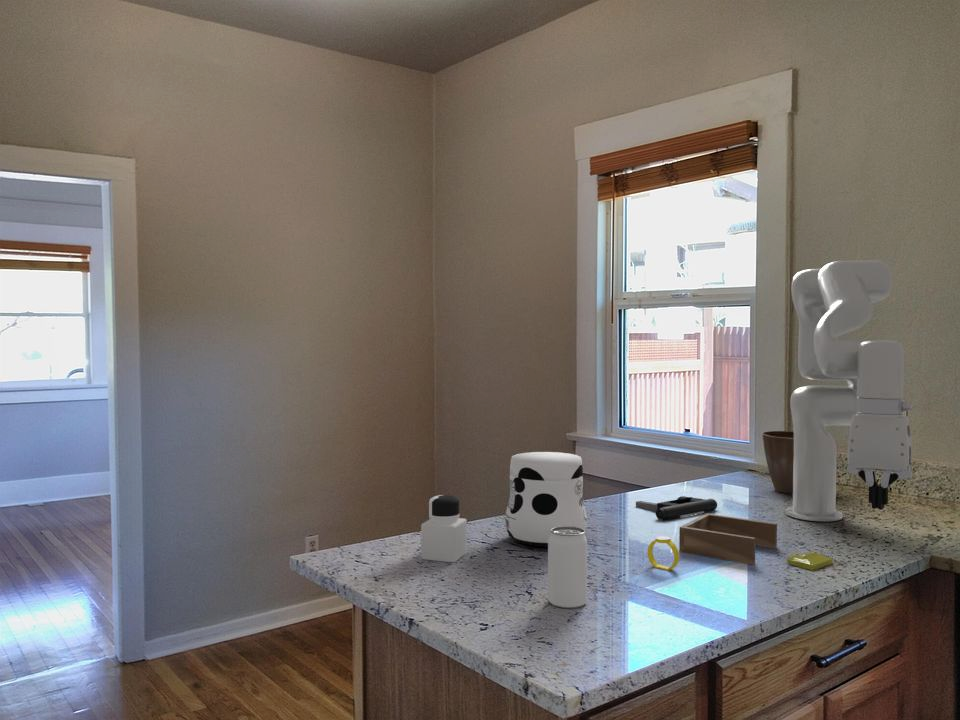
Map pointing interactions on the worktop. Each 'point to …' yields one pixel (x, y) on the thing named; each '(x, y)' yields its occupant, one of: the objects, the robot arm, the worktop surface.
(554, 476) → the milk container
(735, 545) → the box
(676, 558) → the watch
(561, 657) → the worktop surface
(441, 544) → the medicine bottle
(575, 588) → the can
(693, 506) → the door handle
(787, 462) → the plant pot
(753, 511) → the worktop surface
